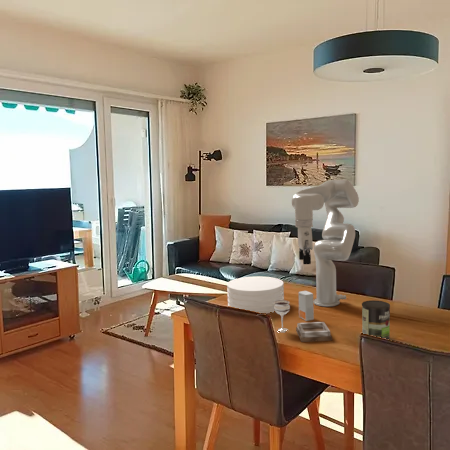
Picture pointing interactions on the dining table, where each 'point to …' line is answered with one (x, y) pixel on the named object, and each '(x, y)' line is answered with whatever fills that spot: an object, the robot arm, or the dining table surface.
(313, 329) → the square tray
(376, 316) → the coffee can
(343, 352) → the dining table surface
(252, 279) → the plate stack
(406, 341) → the dining table surface
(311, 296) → the skincare box
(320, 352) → the dining table surface
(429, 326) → the dining table surface
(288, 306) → the wineglass
